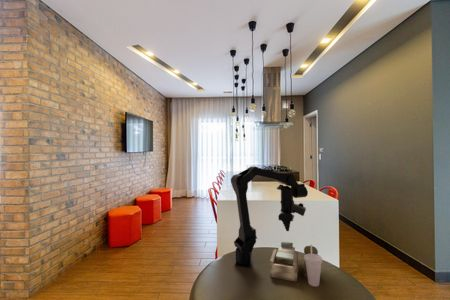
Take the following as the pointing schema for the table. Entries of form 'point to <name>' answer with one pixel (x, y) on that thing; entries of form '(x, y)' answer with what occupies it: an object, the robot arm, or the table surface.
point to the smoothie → (313, 268)
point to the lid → (286, 251)
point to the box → (284, 267)
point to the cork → (308, 251)
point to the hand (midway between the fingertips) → (287, 231)
